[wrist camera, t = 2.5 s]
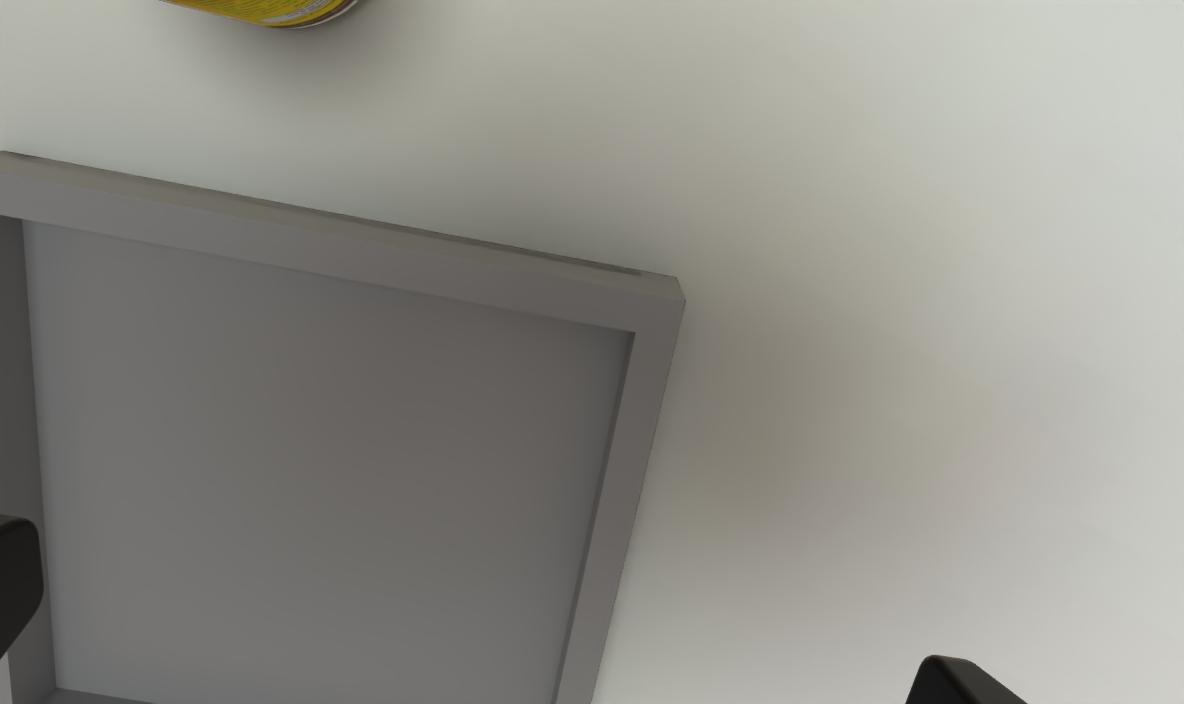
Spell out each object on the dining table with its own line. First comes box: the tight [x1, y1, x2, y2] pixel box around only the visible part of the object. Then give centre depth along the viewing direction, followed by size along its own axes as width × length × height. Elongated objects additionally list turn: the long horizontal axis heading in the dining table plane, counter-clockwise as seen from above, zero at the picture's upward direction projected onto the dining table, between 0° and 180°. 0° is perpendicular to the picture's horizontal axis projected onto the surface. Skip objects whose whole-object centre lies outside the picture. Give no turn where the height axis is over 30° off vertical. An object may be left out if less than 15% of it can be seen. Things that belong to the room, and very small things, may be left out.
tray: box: [0, 151, 686, 704], centre depth 21 cm, size 18×18×2 cm
